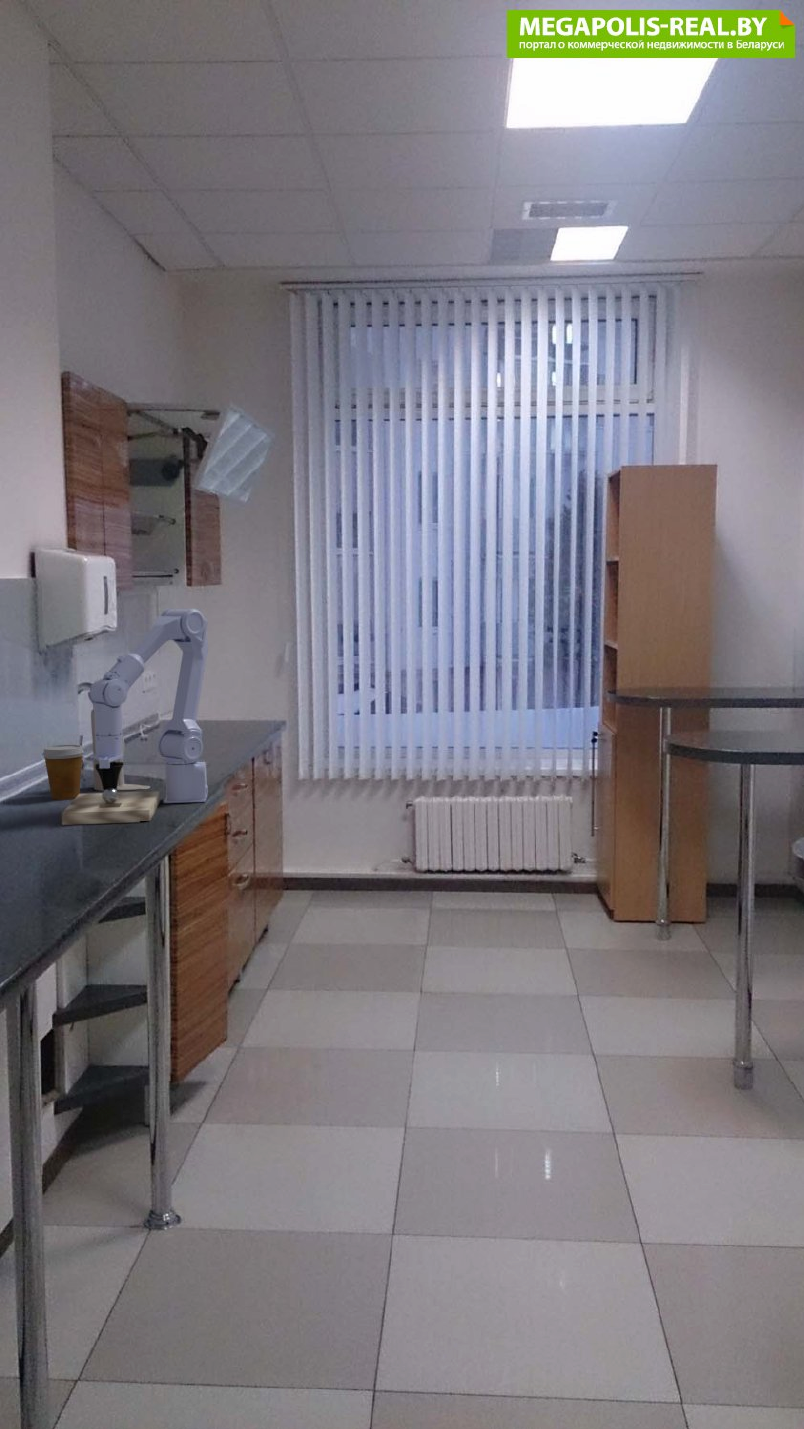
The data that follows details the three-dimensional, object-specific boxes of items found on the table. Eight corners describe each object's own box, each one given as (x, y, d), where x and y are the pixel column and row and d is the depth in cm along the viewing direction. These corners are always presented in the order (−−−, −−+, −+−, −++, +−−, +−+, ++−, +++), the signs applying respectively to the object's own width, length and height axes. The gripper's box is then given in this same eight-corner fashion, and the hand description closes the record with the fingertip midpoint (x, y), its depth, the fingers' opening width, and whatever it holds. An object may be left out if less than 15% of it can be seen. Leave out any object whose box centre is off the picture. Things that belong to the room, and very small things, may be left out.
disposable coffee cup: (92, 793, 274) (90, 744, 272) (77, 801, 264) (74, 750, 263) (54, 793, 275) (51, 744, 273) (37, 801, 265) (35, 750, 264)
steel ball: (118, 785, 247) (115, 800, 245) (121, 791, 250) (118, 806, 249) (101, 784, 247) (99, 799, 245) (105, 790, 250) (102, 805, 249)
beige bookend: (147, 790, 277) (143, 708, 274) (90, 791, 277) (86, 709, 275) (154, 785, 284) (151, 705, 282) (99, 785, 284) (95, 706, 282)
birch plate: (160, 801, 262) (159, 791, 262) (149, 821, 240) (149, 809, 240) (80, 804, 260) (79, 793, 260) (62, 824, 238) (61, 813, 238)
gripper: (95, 730, 254) (96, 790, 256) (84, 739, 240) (85, 802, 241) (127, 730, 255) (128, 789, 256) (118, 738, 241) (119, 801, 242)
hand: (110, 796), depth 249 cm, fingers closed, pressing on steel ball
